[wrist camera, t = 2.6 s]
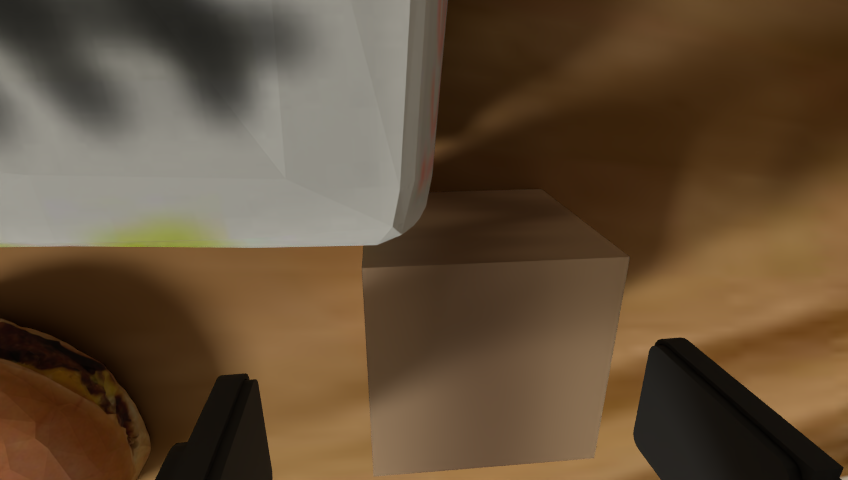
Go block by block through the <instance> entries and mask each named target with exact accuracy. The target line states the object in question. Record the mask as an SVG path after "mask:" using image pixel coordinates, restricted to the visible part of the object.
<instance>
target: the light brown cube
mask: <svg viewBox="0 0 848 480" xmlns="http://www.w3.org/2000/svg"><path fill="white" fill-rule="evenodd" d="M629 259H630V257H629V256H628V255H627V254H625V253H624V252H623V251H622V250H620V249H619V248H618V247H616V246H615V245H614V244H612V243H611V242H610V241H609V240H607V239H606V238H605V237H603V236H602V235H601V234H599V233H598V232H597V231H596V230H594V229H593V228H592V227H590V226H589V225H588V224H586V223H585V222H584V221H583V220H581V219H580V218H579V217H577V216H576V215H575V214H573V213H572V212H571V211H570V210H568V209H567V208H566V207H564V206H563V205H562V204H560V203H559V202H558V201H557V200H555V199H554V198H553V197H551V196H550V195H549V194H547V193H546V192H545V191H544V190H542V189H522V190H486V191H450V192H429V194H428V199H427V204H426V207H425V209H424V211H423V213H422V215H421V217H420V219H419V220H418V221H417V222H416V223H415V225H414V226H413V227H411V228H410V229H409V230H407V231H406V232H405V233H403V234H402V235H400V236H398V237H395V238H393V239H390V240H388V241H386V242H383V243H381V244H378V245H363V259H362V279H363V297H364V315H365V332H366V350H367V367H368V385H369V403H370V420H371V438H372V456H373V473H374V476H385V475H397V474H409V473H421V472H433V471H445V470H457V469H469V468H481V467H494V466H506V465H518V464H530V463H542V462H554V461H566V460H578V459H590V458H594V456H595V450H596V445H597V439H598V433H599V428H600V422H601V417H602V411H603V405H604V400H605V394H606V388H607V383H608V377H609V372H610V366H611V360H612V355H613V349H614V344H615V338H616V332H617V327H618V321H619V315H620V310H621V304H622V299H623V293H624V287H625V282H626V276H627V271H628V265H629Z"/></svg>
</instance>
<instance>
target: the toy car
mask: <svg viewBox="0 0 848 480" xmlns="http://www.w3.org/2000/svg"><path fill="white" fill-rule="evenodd" d="M447 4H448V0H0V247H40V246H123V247H239V248H263V247H311V246H359V245H378V244H381V243H383V242H386V241H388V240H390V239H393V238H395V237H398V236H400V235H402V234H403V233H405V232H406V231H407V230H409V229H410V228H411V227H413V226H414V225H415V223H416V222H417V221H418V220H419V219H420V217H421V215H422V213H423V211H424V209H425V207H426V204H427V199H428V194H429V189H430V184H431V179H432V173H433V162H434V151H435V139H436V128H437V117H438V106H439V94H440V83H441V72H442V61H443V49H444V38H445V27H446V16H447Z"/></svg>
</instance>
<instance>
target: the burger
mask: <svg viewBox="0 0 848 480" xmlns="http://www.w3.org/2000/svg"><path fill="white" fill-rule="evenodd" d="M150 451H151V443H150V437H149V434H148V432H147V429H146V426H145V424H144V421H143V419H142V417H141V415H140V413H139V412H138V409H137V407H136V405H135V403H134V402H133V401H132V400H131V398H130V397H129V395H128V394H127V392H126V390H125V389H123V388H122V387H121V386H120V385H119V384H118V383H117V381H116V379H115V378H114V376H113V374H112V373H111V372H109V371H108V370H107V368H106V367H105V365H104V364H102V363H101V362H99V361H97V360H95V359H94V358H92V357H90V356H88V355H86V354H85V353H83V352H80V351H78V350H76V349H75V348H74V347H73V346H71V345H69V344H68V343H66V342H63V341H61V340H59V339H57V338H55V337H53V336H51V335H48V334H45V333H42V332H40V331H37V330H34V329H30V328H25V327H19V326H18V325H16V324H15V323H12V322H9V321H7V320H4V319H1V318H0V480H136V479H137V478H138V476H139V475H140V472H141V470H142V468H143V466H144V465H145V463H146V461H147V459H148V457H149V454H150Z"/></svg>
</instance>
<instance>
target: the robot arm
mask: <svg viewBox="0 0 848 480" xmlns="http://www.w3.org/2000/svg"><path fill="white" fill-rule="evenodd" d="M633 435H634V440H635V443H636V446H637V447H638V449H639V450H640V452H641V453H642V454H643V456H644V457H645V458H646V460H647V461H648V463H649V464H650V465H651V467H652V468H653V469H654V471H655V472H656V473H657V475H658V476H659V477H660V479H661V480H841V479H840V478H839V477H840V475H841V473H842V470H843V467H842V466H841V465H840V464H838V463H837V462H836V461H835V460H834V459H832V458H831V457H830V456H829V455H827V454H826V453H825V452H824V451H823V450H821V449H820V448H819V447H818V446H816V445H815V444H814V443H813V442H812V441H810V440H809V439H808V438H807V437H805V436H804V435H803V434H802V433H801V432H799V431H798V430H797V429H796V428H794V427H793V426H792V425H791V424H790V423H788V422H787V421H786V420H785V419H783V418H782V417H781V416H780V415H779V414H777V413H776V412H775V411H774V410H772V409H771V408H770V407H769V406H768V405H766V404H765V403H764V402H763V401H761V400H760V399H759V398H758V397H757V396H755V395H754V394H753V393H752V392H750V391H749V390H748V389H747V388H746V387H744V386H743V385H742V384H741V383H739V382H738V381H737V380H736V379H735V378H733V377H732V376H731V375H730V374H728V373H727V372H726V371H725V370H724V369H722V368H721V367H720V366H719V365H717V364H716V363H715V362H714V361H713V360H711V359H710V358H709V357H708V356H706V355H705V354H704V353H703V352H702V351H700V350H699V349H698V348H697V347H695V346H694V345H693V344H692V343H691V342H689V341H688V340H686V339H685V338H670V339H660V340H658V341H657V342H656V343H655V346H652V347H651V348H650V351H649V355H648V360H647V365H646V370H645V375H644V380H643V386H642V391H641V396H640V401H639V406H638V411H637V416H636V421H635V427H634V433H633ZM155 480H272V467H271V461H270V455H269V449H268V442H267V436H266V430H265V423H264V417H263V411H262V404H261V398H260V392H259V386H258V382H257V380H256V379H254V380H249V376H248V374H246V373H245V374H233V375H221V376H219V377H218V379H217V380H216V382H215V385H214V387H213V389H212V391H211V393H210V395H209V398H208V400H207V402H206V404H205V406H204V408H203V410H202V413H201V415H200V417H199V419H198V421H197V423H196V425H195V428H194V430H193V432H192V434H191V436H190V438H189V440H188V442H184V443H176V444H175V445H174V446H173V447H172V448H171V450H170V451H169V453H168V455H167V457H166V459H165V461H164V463H163V465H162V467H161V469H160V471H159V473H158V475H157V477H156V479H155Z"/></svg>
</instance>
